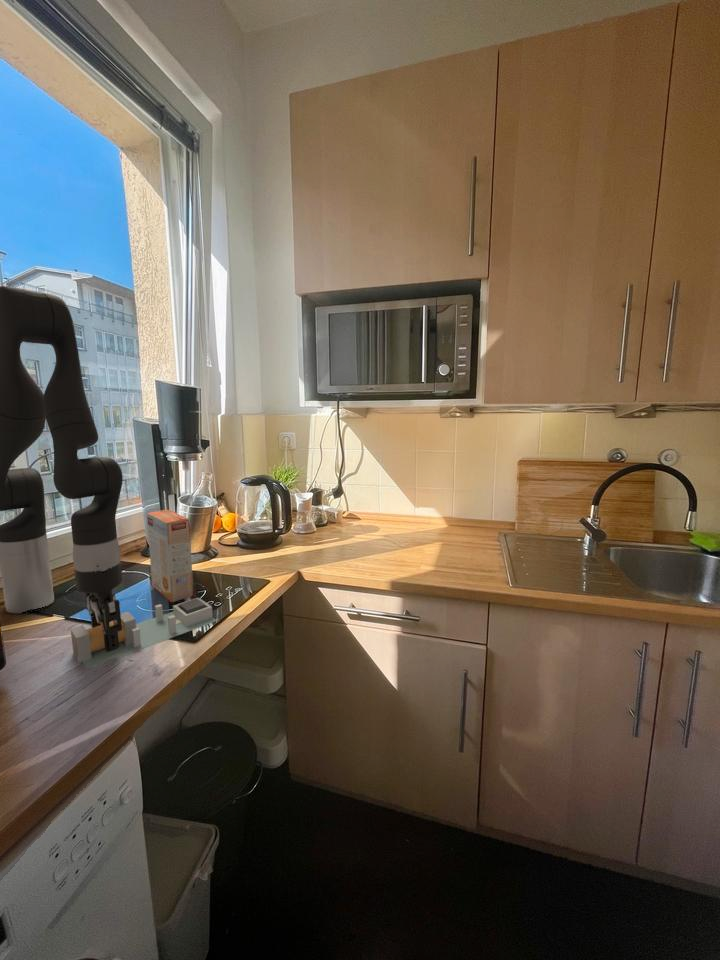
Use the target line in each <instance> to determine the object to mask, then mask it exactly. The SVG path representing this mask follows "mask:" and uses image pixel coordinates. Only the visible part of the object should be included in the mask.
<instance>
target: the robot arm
mask: <svg viewBox="0 0 720 960" xmlns="http://www.w3.org/2000/svg"><path fill="white" fill-rule="evenodd" d="M74 325H75V324H74V321H73V317H72V314H71V311H70V308H69V306H68V304H67V303H66V301H65V300H64V299H63V298H62V297H60V296H59V295H56V294H53V293H52V294H51V293H46V292H42V291H37V290H31V289H26V288H21V287H16V286H15V287H14V286H9V285H0V512H5V511H12V510H18V509H19V510H20V509H22V511H21V512H20V513H19V514H18V515H17V516H16V517H14V518H12V519H10V520H8V521H7V522H4V523H3V524H0V576H1V584H2V590H3V599H4V605H5V606H4V607H5V611H6V612H7V613H9V614H23V613H22V612H25V611H27V610H30V609H37V608H41V609H43V608H42V607H44V608H46V607H48V606H49V605H51V604H52V603H54V602H55V594H54V587H53V585H54V584H53V577H52V575H53V574H52V569H51V568H52V567H51V560H50V553H49V552H50V551H49V544H48V536H47V534H48V533H47V518H46V507H45V503H46V502H45V488H44V487H45V486H44V481H43V478H42V474H41V473H40V472H39V470H37V469H36V468H34V467H25V468H11V467H12V465H13V463H14V462H15V461H16V460H17V459H18V458H19V457H20V456H21V454H23V453H24V452H25V451H26V450H28V449H29V448H30V447H31V446H32V445H33V444H34V443H35V442H36V441H37V440H38V439H39V437H41V435H42V434H43V432H44V430H45V426H46V423H47V426H48V429H49V432H50V435H51V439H52V447H53V470H52V471H53V472H52V473H53V474H52V475H53V479H52V480H53V483H54V487H55V489H56V490H57V492H58V493H59V494H60V495H61V496H63V497H64V498H66V499H68V500H78V499H84V498H89V497H93V499H92V500H91V503H90V504H89V505H88V506H85V507H83V508H81V509H78V510H77V511H74V512H73V513H72V515H71V516H70V526H71V536H72V545H73V546H72V560H73V570H74V580H75V587H76V591H78V592H79V593H82V594H84V597H85V598H84V599H85V609H86V611H88V616H89V617H90V622H91V628H93V627H97V626H100V625H101V626H102V632H103V634H104V644H105V650H106V651H107V652H110V651H113V650H116V649H118V648H119V640H118V631H121V630H122V624H121V615H120V614H121V607H120V604H121V603H120V601H119V599H117V596H116V595H115V594H114V593H113V589H115V588H116V587H118V586H120V585H121V584H122V583H123V571H122V561H121V551H120V544H119V540H118V533H117V532H118V531H117V521H116V515H117V509H118V505H119V499H120V495H121V491H122V487H123V480H124V478H123V477H124V476H123V472H122V469H121V466H120V465H119V464H118V462H117V461H116V460H115V459H113V458H111V457H107V456H98V457H88V458H86V457H85V458H79V457H78V451H80V450H82V449H83V450H84V449H86V448H89V447H92V446H94V445H95V444H96V443H98V440H99V433H98V429H97V426H96V424H95V421H94V418H93V415H92V412H91V408H90V407H89V403H88V398H87V396H86V391H85V388H84V382H83V374H82V367H81V359H80V355H79V353H80V352H79V349H78V348H79V347H78V343H77V336H76V330H75V326H74ZM22 343H31V344H41V345H51V347H52V348H53V351H54V354H55V366H54V369H53V371H52V374H51V377H50V379H49V381H48V383H47V385H46V387H45V391H44V392H43V391H42V389H41V388H40V386H39V385H38V383H37V382H36V381H35V380H34V378H33V377H32V376H31V374H30V373H29V372H28V370H27V368H26V367H25V365H24V363H23V360H22V357H21V345H22ZM45 606H46V607H45ZM112 621H113V623H114V625H112V626H109V623H110V622H112Z"/></svg>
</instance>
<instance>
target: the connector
mask: <svg viewBox="0 0 720 960" xmlns="http://www.w3.org/2000/svg"><path fill="white" fill-rule="evenodd" d="M193 599H194V600H192V599H190V600H191V601H189V600H187V601H188V602H186V601H184V602H185V603H183V602H181V603H182V604H180V603H179V604H180V609H181V610H183V611H184V612H185V613H186V614H189V613H192V612H195V611H198V610H201V609H203V608H205V604H204V603H202V602H201V601H200V600H198V599H195V598H193Z"/></svg>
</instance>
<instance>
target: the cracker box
mask: <svg viewBox="0 0 720 960" xmlns="http://www.w3.org/2000/svg"><path fill="white" fill-rule="evenodd" d="M146 517H147V519H146V520H147V528H148V529H147V532H148V545H149V548H148V549H149V561H150V563H149V564H150V574H151V576H150V578H151V579H150V580H151V587H152V589H155V590H156V591H157V592H159V593H160V594H161V595H162V596H163V597H164V598H165V599H166V600H168V601H169V602H170V603H174V602H177V601H180V600H181V601H182V600H184V599H188V598H191V597H193V596H194V584H193V583H194V581H193V564H192V542H191V525H190V523H191V522H190V521H191V520H190V519H189V518H187V517H186V516H183V515H180V514H179V513H176V512H174V511H172V510H170V509H162V510H158V511H157V510H155V511H150V512H147V513H146Z"/></svg>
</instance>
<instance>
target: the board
mask: <svg viewBox="0 0 720 960" xmlns="http://www.w3.org/2000/svg"><path fill="white" fill-rule="evenodd" d="M194 599H198V600H200V601H201V602H202V603H204V604H205V608H203V609H201V610H198V611H195V612H192V613H189V614H186V613H185V612H184V611H183V610H181V609H180V604H182V603H185V602H188V601H191V600H194ZM154 610H155V611H154V612H155V617H153V618H150V619H147V620H144V621H140V622H138V623H136V628H134V629H131V630H132V642H133V644H130V645H127V646H126V645H125V643H124V642H120V643H119V648H118V649H116V650H113V651H110V652H107V651H106V650H105V648H103V649H100V650H97V651H94V652H91V657H92V658H91V659H89V660H86V661H83V662H82V664H83V665H84V667H85V668H86V670H90V669H93V668H95V667H98V666H101V665H103V664H107V663H109V662H111V661H115V660H116V659H120V658H123V657H125V656H127V655H130V654H132V653H133V654H134V653H135V652H139V651H140V650H144V649H146V648H149V647H152V646H154V645H156V644H159V643H162V642H164V641H167V640H169V639H173V638H174V637H178V636H180V635H183V634H185V633H188V632H191V631H194V630H196V629H199V628H201V627H204V626H207V625H209V624H211V623H212V624H213V623H215V622H217V621H218V620H217V619H216V618H214V616H213V607H212V605H210V604H209V603H207V602H206V601H204V600H203V599H202V598H200V597H196V598H192V599H190V600H186V601H183V602H181V603H177V604H175V605H172V611H170V612H168V613H163V612H164V609H163V605H162V604H161V603H160V604H156V605H154Z"/></svg>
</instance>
